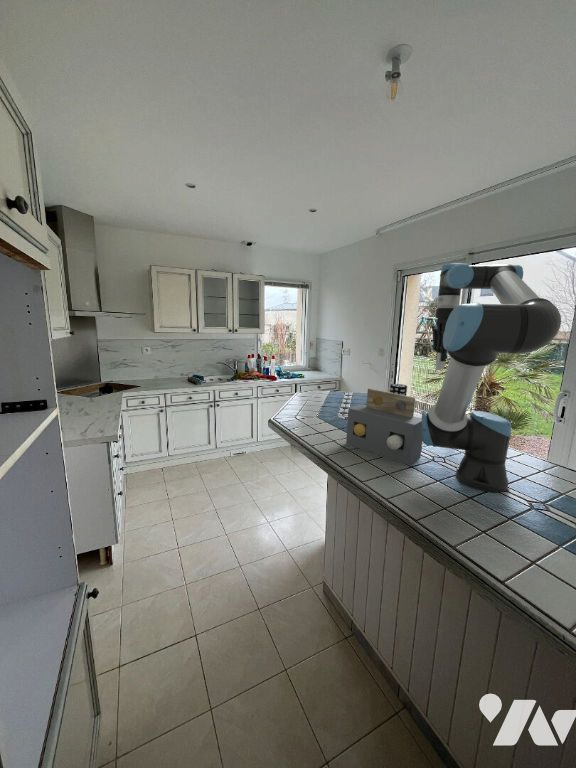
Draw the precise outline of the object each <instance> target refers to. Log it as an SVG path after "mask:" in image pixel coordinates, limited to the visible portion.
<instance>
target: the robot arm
mask: <svg viewBox="0 0 576 768" xmlns="http://www.w3.org/2000/svg"><path fill="white" fill-rule="evenodd" d="M523 278H524V268H523V266H522V265H520V264H510V263H509V264H492V265H491V264H488V265H487V264H485V265H480V264H479V265H477V264H476V265H474V264H473V265H469V264H468V263H448V264H444V265H443V266H441V270H440V274H439V285H438V297H437V304H436V307H438V308H436V311H435V318H436V319H437V321H436V324H435V325H431V330H432V331H431V332H432V346H433V347H432V349H433V351H435V352H436V355H435V356H436V357H435V361H436V362H435V370H445V365H446V364H445V363H446V360H447V355H448V356H449V357H450V358H449V361H448V363H447V368H446V371H445V374H444V377H443V381H442V385H441V387H440V391H439V394H438V397H437V401H436V403H435V404H434V405H432V406H430V408H429V409H428V410H425V411H422V412H421V418H422V444H424V445H426V446H430V447H433V448H437V447H438V448H445V449H453V450H460V451H461V450H462V451H464V455H463V457H462V458H461V461H460V462H459V465H458V466H456V471H455V477H456V479H457V480H458V481H460V482H461V483H462V484H465V485H466V486H468V487H470V488H473V489H476V490H479V491H483V492H489V493H502V492H505V491H507V489H509V488H508V487H509V478H508V477H507V476H508V475H507V468H506V462H507V461H506V460H507V455H508V452H509V451H508V450H509V445H510V442H511V441H510V440H511V437H512V424H511V422H510V421H509V420H508V419H506V418H504V417H503V416H501V415H500V416H499V415H497V414H494V413H491V412H486V411H482V410H473V411H471V413H470V414H469V415H467V410H468V408H469V406H470V403H471V401H472V399H473V396H474V394H475V392H476V389H477V387H478V385H479V382H480V379H481V377H482V375H483V373H484V371H485V368H486V367H487V366H490V365H491V364H493V363H494V362H495V361H496V359H497V357H498V355H499V354H517V355H522V354H528V353H532V352H535V351H537V350H540V349H541V348H544V347H546V346H547V345H548V344H550V342H552V341H553V340H554V338H555V337H556V336H557V334H558V333H559V331H560V329H561V324H562V315H561V313H560V311H559V308H558V307H557V306H556V305H555V304H554V303H553V302H551V301H550V300H549V299H547V298H543V297H540V296H539V295H537V293H536V292H534V290H533V289H532V288H531V287H530V286H529V284H527V283H526V282H525V281H524V280H523ZM462 290H491V292H492V293H493V294H494V296H495V297H496V299H497V300H498V302H499V303H480V302H474V303H462V304H460V302H461V294H462V293H461V292H462Z"/></svg>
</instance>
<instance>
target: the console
mask: <svg viewBox="0 0 576 768" xmlns="http://www.w3.org/2000/svg"><path fill="white" fill-rule="evenodd" d="M347 414H348V415H347V424H346V425H347V426H346V441H345V445H348V446H351V447H354V448H357V449H360V450H363V451H365V452H368V453H371V454H375V455H377V456H380V457H383V458H385V459H388V460H392V461H395V462H398V463H401V464H403V465H407V466H408V467H409V466H410V467H411V466H412V465H413V464H415V463H416V462H417V461H418V460H419V459H421V455H422V448H423V441H422V417H418V416H414V415H413V418H411V417H406V416H402V415H398V414H394V413H390V412H385V411H381V410H377V409H373V408H369V407H366V404H363V403H362V404H361V403H360V404H358V405H357V404H356V405H353V406H351V407H349V408H348V412H347ZM359 423H362V424H365V425H367V427H366V434H365V435H362V436H358V435H356V434H355V432H354V426H355V425H357V424H359ZM394 434H398V435H400V436H401V437H402V438H403V441H404V443H403V445H402V446H401V447H399V448H398V449H396V450H393V449H391V448H389V447H388V445H387V439H388V438H389V437H390V436H392V435H394Z"/></svg>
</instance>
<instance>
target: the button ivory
mask: <svg viewBox="0 0 576 768" xmlns="http://www.w3.org/2000/svg"><path fill="white" fill-rule="evenodd" d="M403 443H404V441H403V438H402V437H401V436H400V435H398V434H394V435H392V436H390V437H389V438H388V439H387V445H388V447H389V448H391V449H393V450H396V449H398V448H399V447H401V446H402V445H403Z"/></svg>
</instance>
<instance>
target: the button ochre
mask: <svg viewBox="0 0 576 768" xmlns="http://www.w3.org/2000/svg"><path fill="white" fill-rule="evenodd" d="M366 427H367V425H365V424H362V423H359V424H357V425H355V426H354V432H355V434H356V435H358V436H362V435H365V434H366Z"/></svg>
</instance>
